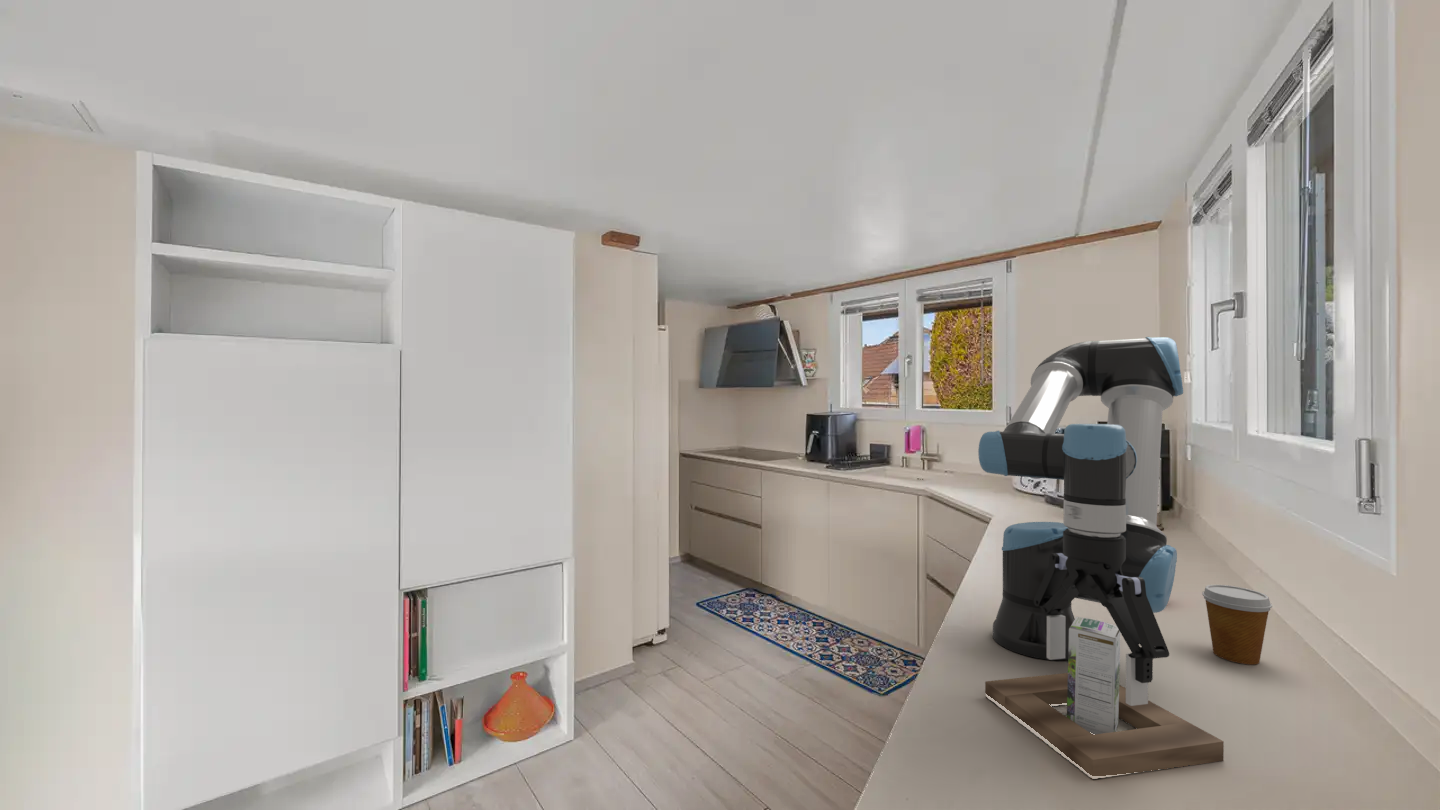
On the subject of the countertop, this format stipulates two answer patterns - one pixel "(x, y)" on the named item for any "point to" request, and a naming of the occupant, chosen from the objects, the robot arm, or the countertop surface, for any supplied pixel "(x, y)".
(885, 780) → the countertop surface
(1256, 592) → the disposable coffee cup
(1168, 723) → the wooden square frame
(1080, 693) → the syrup box
